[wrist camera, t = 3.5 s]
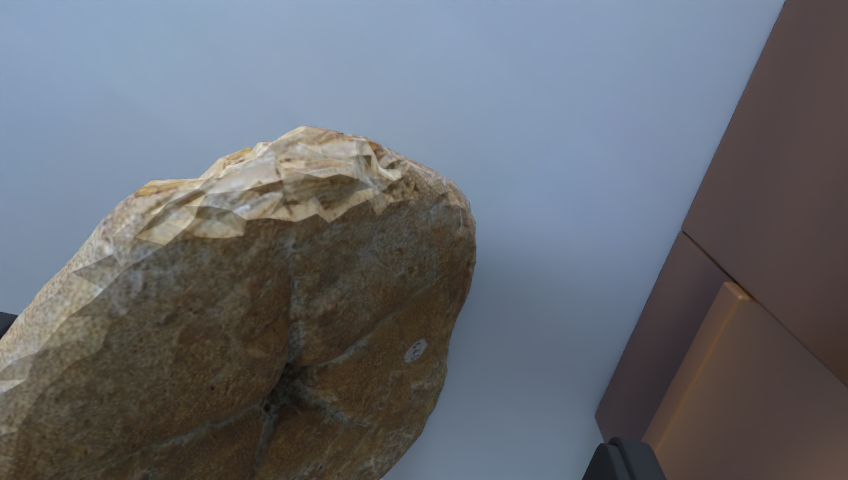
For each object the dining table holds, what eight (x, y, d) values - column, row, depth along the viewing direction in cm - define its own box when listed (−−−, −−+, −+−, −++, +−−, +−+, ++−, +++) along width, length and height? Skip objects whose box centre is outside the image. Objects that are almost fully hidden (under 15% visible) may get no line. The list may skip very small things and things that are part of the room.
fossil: (113, 714, 10) (-271, 333, 4) (51, 524, 13) (-241, 115, 6) (465, 440, 15) (534, 84, 9) (370, 344, 17) (372, 15, 11)
